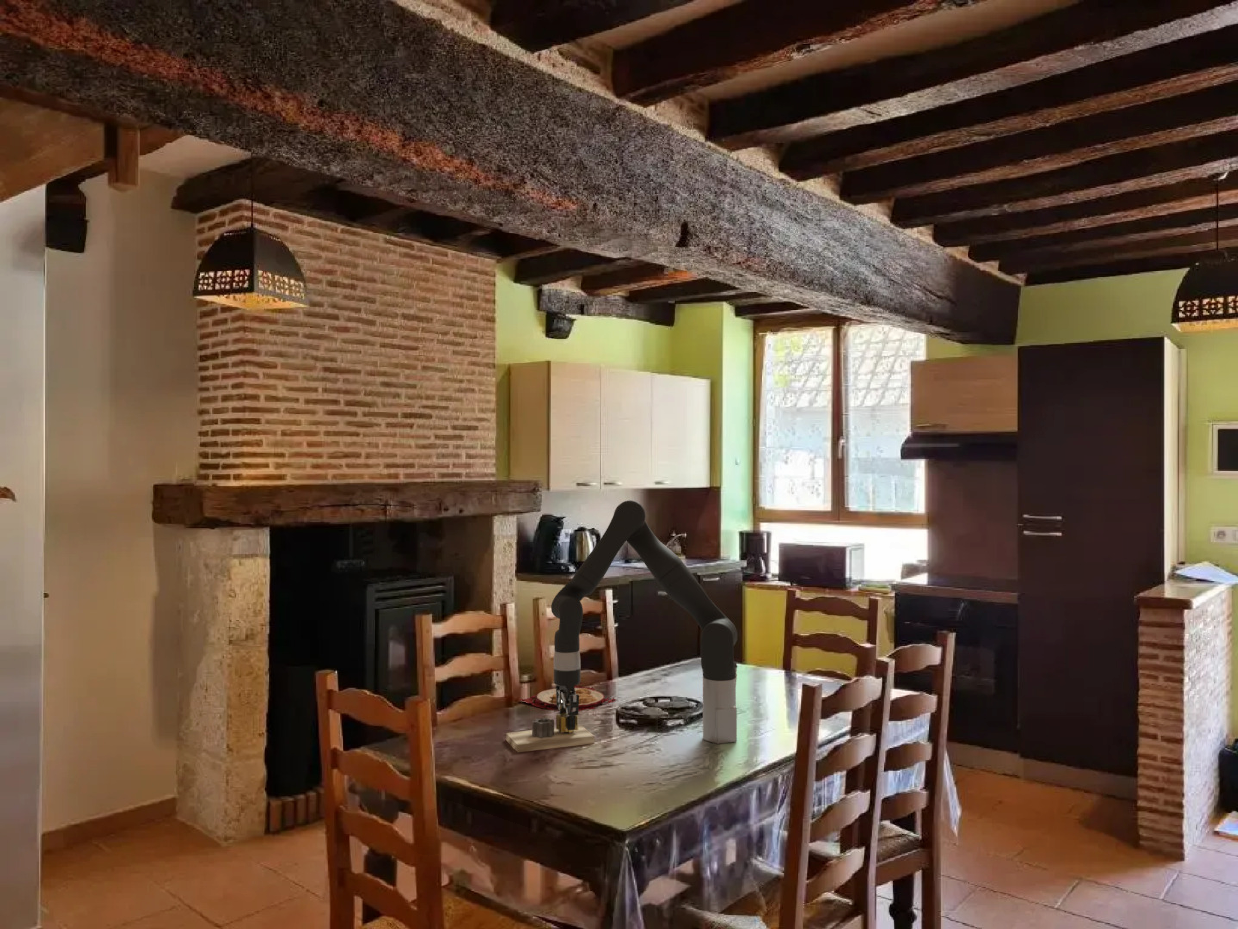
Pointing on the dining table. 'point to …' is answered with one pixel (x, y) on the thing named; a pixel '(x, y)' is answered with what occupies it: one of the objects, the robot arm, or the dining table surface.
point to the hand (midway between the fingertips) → (567, 726)
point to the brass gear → (564, 722)
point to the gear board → (547, 737)
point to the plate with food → (586, 700)
